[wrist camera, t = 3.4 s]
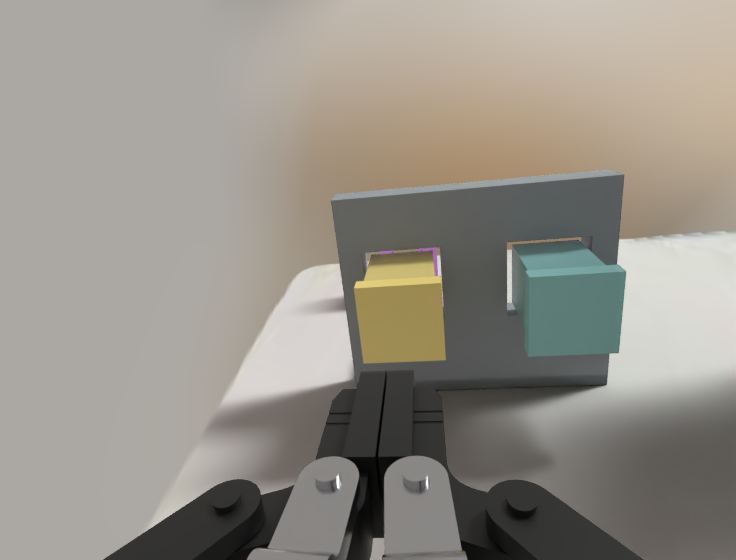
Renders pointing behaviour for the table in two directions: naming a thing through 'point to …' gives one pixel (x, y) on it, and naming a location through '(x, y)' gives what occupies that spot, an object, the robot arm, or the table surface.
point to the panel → (480, 267)
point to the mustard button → (400, 309)
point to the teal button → (567, 299)
